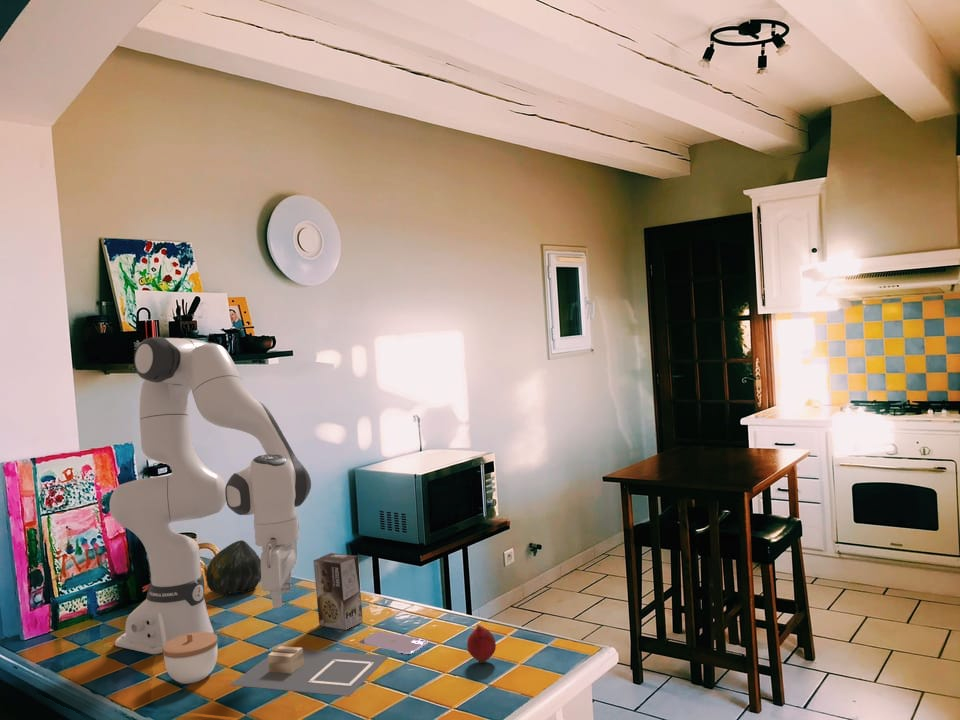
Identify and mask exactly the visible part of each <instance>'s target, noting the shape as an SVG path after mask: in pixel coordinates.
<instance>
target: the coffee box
mask: <svg viewBox="0 0 960 720" xmlns="http://www.w3.org/2000/svg"><path fill="white" fill-rule="evenodd" d="M313 570H314V582H315V592H316V603H317V612H318V624H319V626H320V625H321V627H326V628H332V629H337V630H344V631H348V630H350V629H351V627H352V628H353V627H356V626H357V625H359V624H361V623H363V622H364V619H363V608H362V598H361V597H362V595H361V583H360V582H361V581H360V571H359V570H360V569H359V556H358V555H352V554H343V553H333V552H330V553H327V554H325V555H322V556H320V557H319V558H316V559H314V560H313ZM349 628H350V629H349ZM347 629H348V630H347Z"/></svg>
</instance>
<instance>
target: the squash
mask: <svg viewBox="0 0 960 720" xmlns="http://www.w3.org/2000/svg"><path fill="white" fill-rule="evenodd" d="M205 581H206V584H207V587H208V589H209V590H210V591H211V592H212V593H213V594H216V595H221V596H226V595H229V594H230V593H231V594H236V593H242V592H251V591H253V590H254V589H256V587H257V586H258V585H259V582H260V581H261V557H260V556H259V555H258V554H257V552H256V551H255V550H254V549H253V548H252V546H250V544H248V542H246V541H245V540H242V539H241V540H236V541H234V542H232V543H230V544H229V545H227V546H226V547H224V548H223V549H221V550H220V551H218V552H217V553H216V554H214V556H213V557H212V558H211V560H210V561H209V564H208V566H207V568H206V574H205Z"/></svg>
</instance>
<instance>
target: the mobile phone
mask: <svg viewBox="0 0 960 720" xmlns="http://www.w3.org/2000/svg"><path fill="white" fill-rule="evenodd" d="M428 643H429V640H428V639H423V638H419V637H413V636H409V635H407V636H406V635H402V634H396V633H391V632H385V631H375V632H373V633H371V634H370V635H368V636H367V637H365V638H363V639H361V640H359V641H358V644H359V645H364V646H369V647H374V648H379V649H386V650H390V651H395V652H396V653H395V654H400V653H403V654H402V655H405V654H411V655H413V654H415V653H416V652H418V651H420V650H421V649H422V648H424V647H425V646H427V645H428ZM423 646H424V647H423ZM420 648H421V649H420ZM417 650H418V651H417ZM415 651H416V652H415ZM414 652H415V653H414ZM412 653H413V654H412Z"/></svg>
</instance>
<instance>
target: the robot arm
mask: <svg viewBox="0 0 960 720" xmlns="http://www.w3.org/2000/svg"><path fill="white" fill-rule="evenodd" d="M133 365H134V369H135V372H136V373H137V374H138V376H139V377H140V378H141V379H142V380H143V382H142V384H141V389H140V398H139V427H140V429H139V431H140V444H141V448H140V449H141V450H142V452H143V454H144V455H145V456H146V457H147V458H149V459H150V460H153V461H155V462H159V463H162V464H164V465H165V464H166V465H167V466H169V467H170V469H171V474H168V475H163V476H155V477H154V476H153V477H147V478H138V479H134V480H131V481H128V482H124V483H122V484H119V485H117V486H116V488H115V489H114V490H113V492H112V493H111V495H110V499H109V512H110V514H111V517H112V518H113V520H114V521H115V522H116V523H117V524H119V525H120V526H122V527H124V528H126V529H127V530H129V531H130V532H132V533H133V534H134V535H135V536H136V537H137V538H138V539H139V540H140V542H141V543H142V545H143V547H144V549H145V552H146V553H147V559H148V564H149V569H150V580H151V582H149V584H147V585H144V586H143V587H142V589H143V590H142V592H143V593H144V592H147V593H146V599H145V600H143V601H142V602H141V603H140V604H139V605H138V606H137V607H136V608H134V610H133V611H132V612H131V613H129V615H128V616H127V618H126V620H125V632H124V633H122V634H121V635H120V636H119V637H117V639H115V642H114V646H116V647H119V648H123V649H127V650H132V651H133V650H134V651H137V652H142V653H144V654H145V653H146V654H150V655H158V654H163V651H162V648H163V646H164V644H165V643H167V642H168V641H170V640H172V639H174V638H176V637H179V636H182V635H185V634H189V633H196V632H210V633H214V628H213V625H212V623H211V619H210V617H209V612H208V609H207V604H206V600H205V578H204V575H203V573H202V565H201V554H200V546H199V544H198V543H197V541H196V540H195V539H193V538H192V537H191V536H187V535H185V534H181V533H178V532H176V531H174V530H173V529H172V528H171V527H170V525H169V524H170V523H173V522H182V521H188V520H196V519H202V518H205V517H209V516H212V515H215V514H217V513H220V512H221V511H222V510H223V508H224V507H225V505H227V507H228V508H229V509H230V510H231V511H232V512H234V513H235V514H237V515H238V516H250V515H253V517H254V518H253V530H254V531H253V532H254V540H255V541H254V542H255V546H258V547H262V548H261V550H262V552H261V555H260V559H261V579H260V581H261V582H260V583H261V587H262V590H263V592H269V595H270V597H271V601H272V602H271V603H272V608H274V609H277V608H279V609H280V608H281V607H282V606H283V605H284V600H283V596H282V594H288V593H290V591H291V590H292V586H291V584H292V583H291V580H292V579H291V578H292V571H293V569H294V567H295V565H296V564H297V559H298V558H297V557H298V556H297V555H298V554H297V553H298V552H297V551H298V549H297V547H298V545H297V544H298V541H299V539H300V533H299V530H300V527H299V522H298V521H299V520H298V512H297V511H296V510H297V509H296V508H298V507H300V506H301V505H303V503H305V501H306V499H307V498H308V496H309V494H310V492H311V489H312V481H311V477H310V474H309V473H308V470H307V469H306V467H305V466H304V465H303V464H302V463H301V461H300V460H299V459H298V457H297V456H296V454H295V452H294V451H293V449H292V448H291V446H290V444H289V442H288V440H287V438H286V437H285V435H284V433H283V431H282V430H281V428H280V426H279V424H278V423H277V421H276V420H275V417H274V416H273V415H272V412H270V409H269V408H268V407H267V406H266V405H265V404H264V403H262V402H260V401H258V400H257V399H256V398H255V397H254V396H252V394H251V393H250V392H249V391H248V389H247V388H246V386H245V385H244V382H243V379H242V377H241V375H240V373H239V370H238V368H237V366H236V363H235V362H234V360H233V359H232V357H231V355H230V354H229V352H228V350H227V349H226V348H225V347H224V346H223V345H220V344H218V343H214V342H213V341H212V342H211V341H208V340H206V341H203V340H199V339H193V338H187V337H183V338H180V337H163V336H154V337H153V336H152V337H149V338H144V339H143V340H142V341H141V342H140V343H139V344H138V346H137V347H136V349H135V352H134V356H133ZM190 392H191V393H192V396H193V399H194V403H195V406H196V407H197V410H198V412H199V413H200V415H201V417H202V418H203V419H205V420H206V421H208V422H209V423H211V424H213V425H215V426H217V427H220V428H221V427H222V428H225V429H232V430H237V431H241V432H244V433H247V434H249V435H251V436H253V437H254V438H256V439H257V441H258V442H259V443H260V444H261V447H262V449H263V450H264V452H265V454H262V455H258V456H256V457H254V458H253V459H251V462H250V465H249V466H247V467H246V468H244V469H242V470H240V471H238V472H234V473H233V474H232V475H231V476H230V478H229V479H228V480H227V483H226V481H225V480H224V478H222V477H221V476H220V475H219V474H218V473H216V472H214V471H213V470H212V469H210V468H208V467H207V466H206V464H204V463H203V462H202V460H201V459H200V457H199V456H198V455H197V453H196V451H195V448H194V443H193V440H192V433H191V424H190V423H191V422H190V411H189V404H188V401H189V400H188V397H189V393H190Z"/></svg>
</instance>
